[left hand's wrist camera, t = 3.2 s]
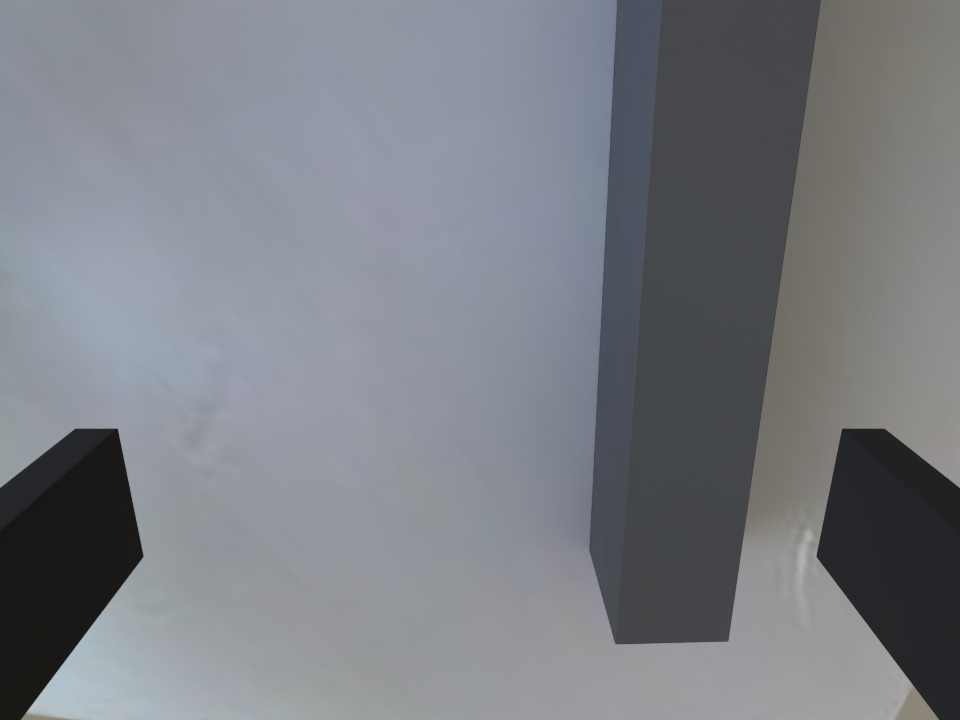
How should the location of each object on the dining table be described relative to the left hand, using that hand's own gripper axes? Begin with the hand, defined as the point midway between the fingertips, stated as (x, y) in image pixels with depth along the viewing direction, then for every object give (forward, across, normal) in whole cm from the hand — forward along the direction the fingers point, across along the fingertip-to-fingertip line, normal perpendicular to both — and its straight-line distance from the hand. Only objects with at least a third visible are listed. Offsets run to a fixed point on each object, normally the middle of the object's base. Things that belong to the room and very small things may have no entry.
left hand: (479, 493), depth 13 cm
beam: (+23, -9, -20) cm, 32 cm away
